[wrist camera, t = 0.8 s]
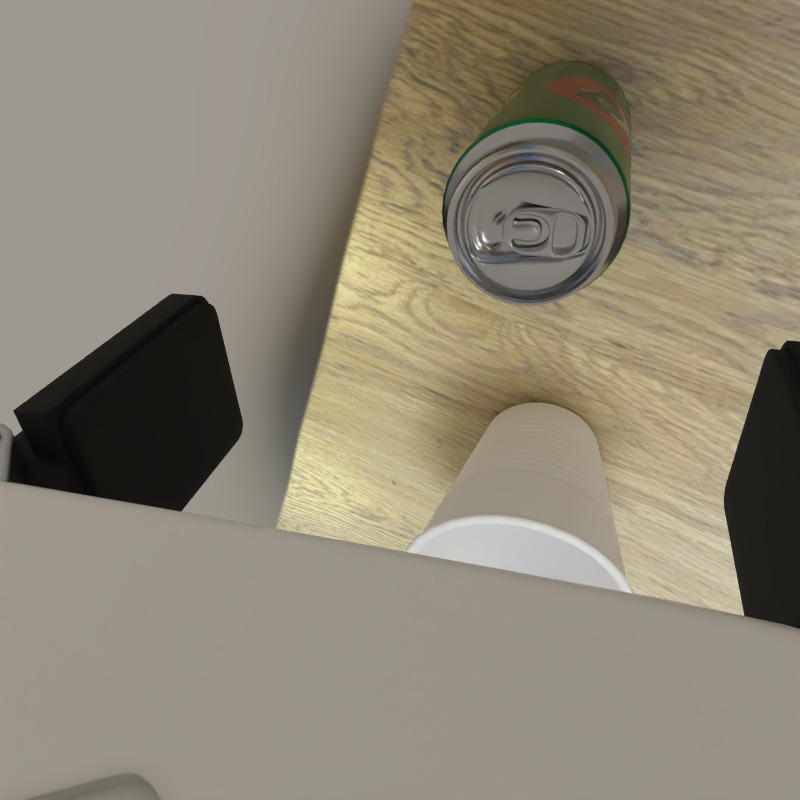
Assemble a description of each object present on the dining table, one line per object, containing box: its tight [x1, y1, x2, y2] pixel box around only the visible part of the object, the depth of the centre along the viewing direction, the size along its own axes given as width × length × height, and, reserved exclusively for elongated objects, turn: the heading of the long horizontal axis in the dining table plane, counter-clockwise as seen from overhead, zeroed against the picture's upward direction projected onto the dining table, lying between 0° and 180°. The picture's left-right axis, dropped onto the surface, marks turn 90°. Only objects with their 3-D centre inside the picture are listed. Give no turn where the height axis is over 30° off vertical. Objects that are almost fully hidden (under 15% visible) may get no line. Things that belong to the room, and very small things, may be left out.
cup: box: [405, 402, 634, 594], centre depth 31 cm, size 10×10×11 cm
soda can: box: [442, 61, 631, 306], centre depth 21 cm, size 5×5×12 cm
